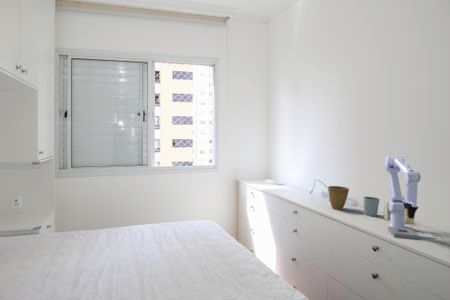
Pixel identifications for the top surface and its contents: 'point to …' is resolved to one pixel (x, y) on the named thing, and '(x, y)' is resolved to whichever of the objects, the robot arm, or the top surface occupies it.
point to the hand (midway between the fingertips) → (409, 217)
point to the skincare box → (386, 210)
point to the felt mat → (425, 235)
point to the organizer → (403, 232)
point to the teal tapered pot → (371, 206)
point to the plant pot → (338, 196)
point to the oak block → (406, 218)
